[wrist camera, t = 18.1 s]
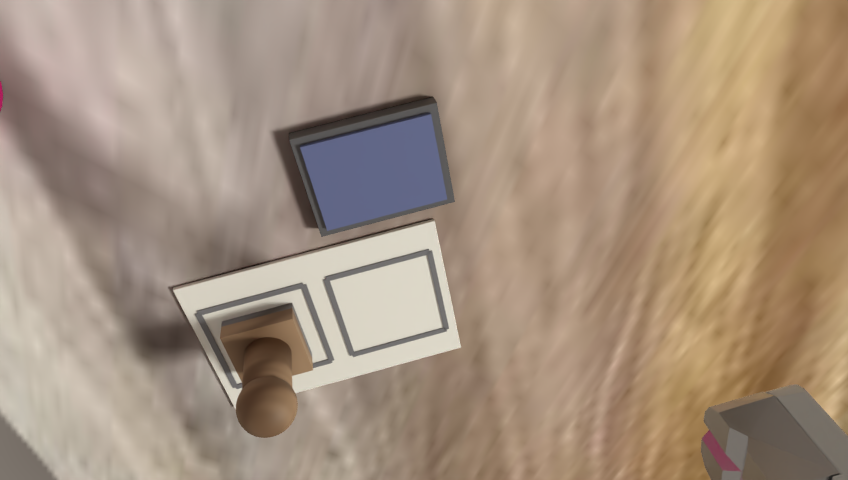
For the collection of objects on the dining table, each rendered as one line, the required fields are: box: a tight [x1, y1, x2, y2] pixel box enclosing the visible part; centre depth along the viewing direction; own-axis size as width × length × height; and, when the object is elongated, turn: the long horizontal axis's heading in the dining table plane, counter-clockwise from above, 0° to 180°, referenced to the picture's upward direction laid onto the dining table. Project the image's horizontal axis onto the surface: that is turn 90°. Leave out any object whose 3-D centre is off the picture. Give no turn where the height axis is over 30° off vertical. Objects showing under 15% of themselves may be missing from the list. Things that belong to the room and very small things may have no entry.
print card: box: [173, 219, 461, 409], centre depth 46 cm, size 18×12×1 cm, turn 101°
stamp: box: [220, 303, 313, 438], centre depth 42 cm, size 5×5×8 cm
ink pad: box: [289, 97, 455, 237], centre depth 40 cm, size 9×7×1 cm
